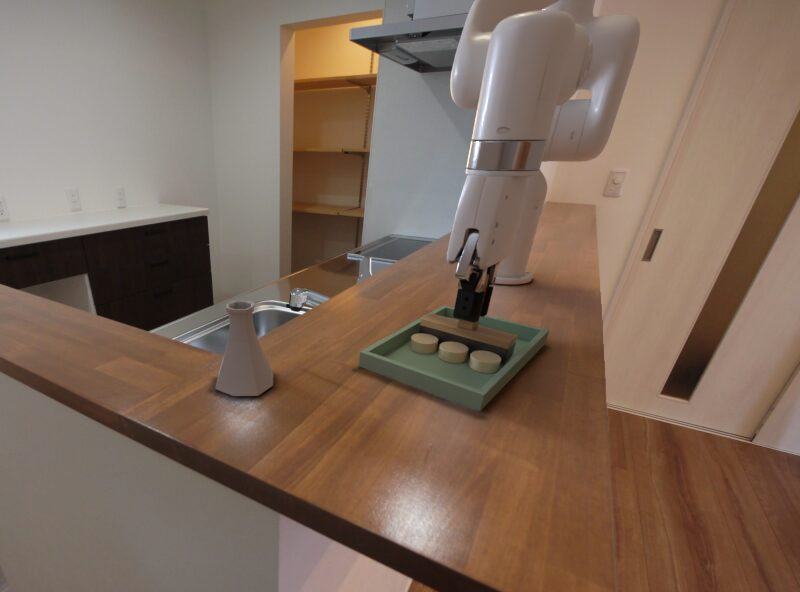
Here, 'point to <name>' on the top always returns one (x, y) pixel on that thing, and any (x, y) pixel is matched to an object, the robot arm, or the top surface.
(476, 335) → the brush
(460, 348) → the crumb
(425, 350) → the crumb
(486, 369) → the crumb
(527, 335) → the tray
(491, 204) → the robot arm
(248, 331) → the flask
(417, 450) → the top surface
